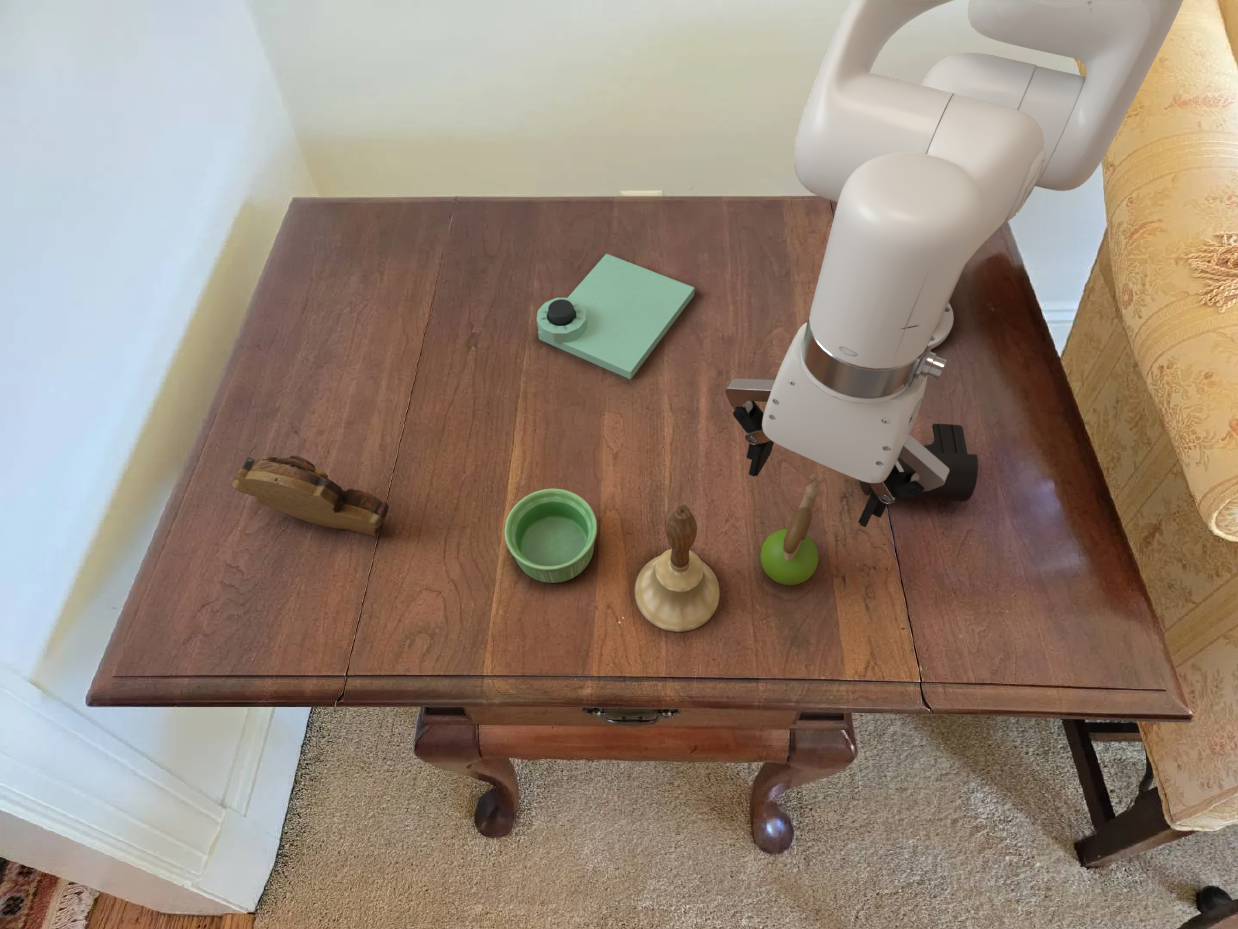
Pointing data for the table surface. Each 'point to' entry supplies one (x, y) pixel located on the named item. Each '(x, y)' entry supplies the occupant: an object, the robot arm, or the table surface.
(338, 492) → the wooden carving
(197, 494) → the table surface
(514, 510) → the ramekin
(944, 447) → the end cap
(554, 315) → the button
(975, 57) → the robot arm
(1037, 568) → the table surface
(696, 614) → the hand bell
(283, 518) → the table surface
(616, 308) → the scale
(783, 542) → the snail figurine
